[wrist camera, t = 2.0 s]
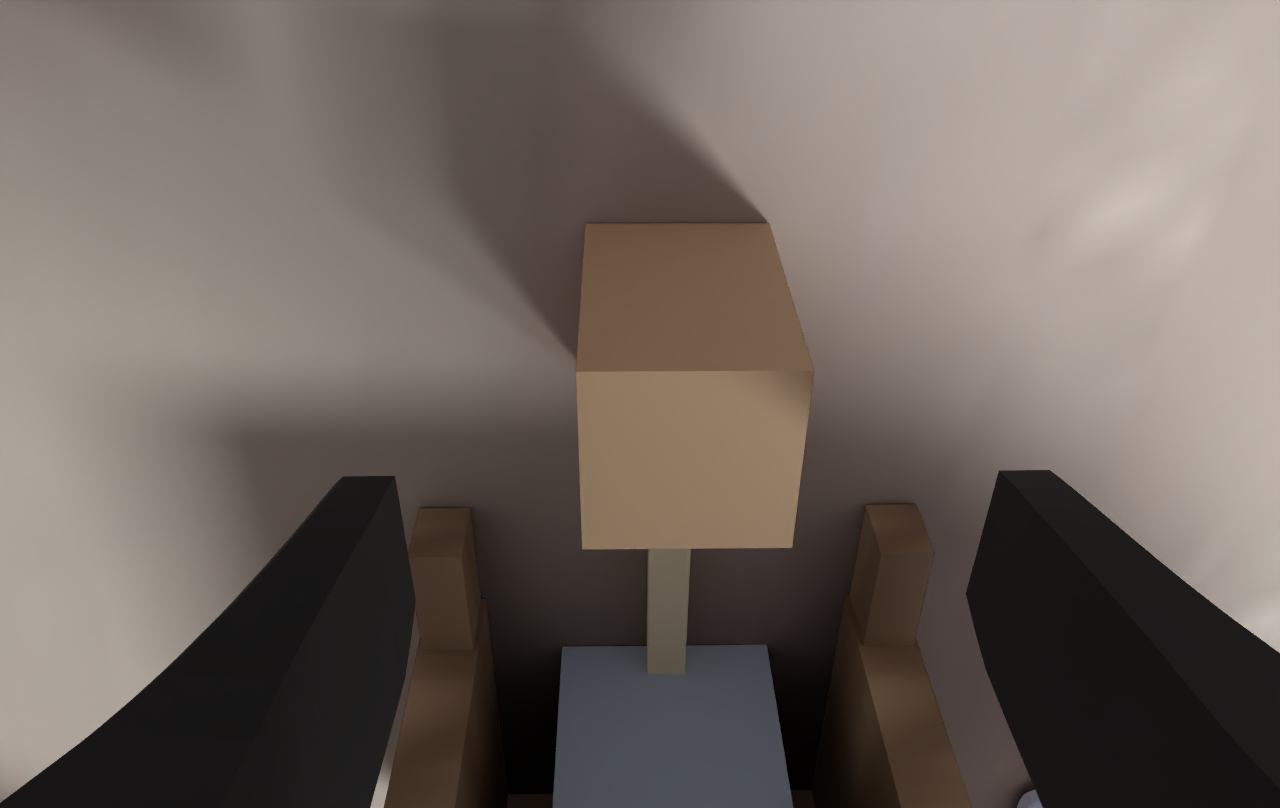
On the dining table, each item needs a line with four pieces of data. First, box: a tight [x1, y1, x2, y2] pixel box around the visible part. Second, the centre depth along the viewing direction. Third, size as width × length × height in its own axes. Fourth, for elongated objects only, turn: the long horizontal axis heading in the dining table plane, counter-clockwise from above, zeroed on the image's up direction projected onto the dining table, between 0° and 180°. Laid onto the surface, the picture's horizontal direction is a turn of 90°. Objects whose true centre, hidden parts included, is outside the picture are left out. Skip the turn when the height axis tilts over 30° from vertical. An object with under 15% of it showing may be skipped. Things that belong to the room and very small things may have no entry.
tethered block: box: [553, 223, 814, 808], centre depth 18 cm, size 4×14×4 cm, turn 0°
